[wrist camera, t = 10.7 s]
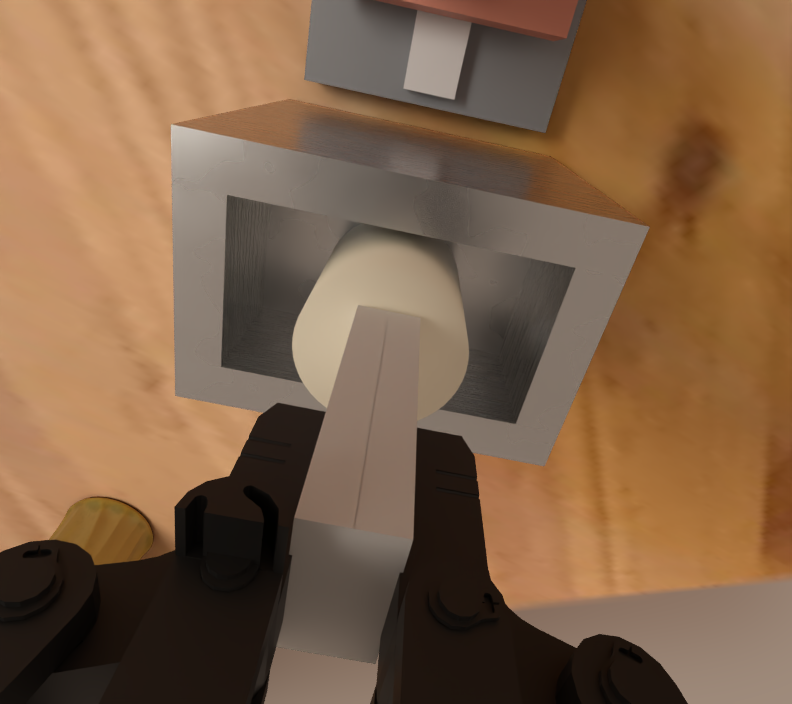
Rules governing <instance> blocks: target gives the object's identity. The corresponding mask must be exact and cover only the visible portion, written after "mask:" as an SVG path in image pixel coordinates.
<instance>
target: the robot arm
mask: <svg viewBox="0 0 792 704" xmlns="http://www.w3.org/2000/svg"><path fill="white" fill-rule="evenodd" d="M419 347H420V317H415V316H410V315H405V314H400V313H395V312H390V311H386V310H381V309H376V308H371V307H366V306H361V305H358V307H357V310H356V313H355V317H354V320H353V323H352V327H351V330H350V333H349V337H348V340H347V343H346V347H345V350H344V353H343V357H342V360H341V363H340V367H339V370H338V373H337V377H336V380H335V383H334V387H333V390H332V393H331V397H330V400H329V403H328V407H327V410H326V412H324V411H319V410H314V409H309V408H304V407H298V406H293V405H288V404H283V403H276V404H275V405H274V406H272V407H271V408H269V409H268V410H267V411H265V412H264V413H263V414H261V415H260V416H259V417H258V419H257V421H256V423H255V425H254V427H253V429H252V431H251V433H250V435H249V439H248V440H247V441H246V443H245V445H244V447H243V449H242V451H241V455H240V457H239V458H238V460H237V462H236V464H235V466H234V468H233V470H232V472H231V474H230V476H228V477H224V478H219V479H215V480H211V481H207V482H205V483H203V484H201V485H199V486H197V487H196V488H194V489H192V490H190V491H188V492H187V493H186V495H185V496H184V497H183V498H182V499H181V500H180V501H179V502H178V504H177V505H176V506H175V550H174V551H172V552H169V553H166V554H164V555H161V556H159V557H154V558H149V559H144V560H138V561H129V562H119V563H110V564H101V565H94V562H93V559H92V556H91V555H90V554H89V553H88V552H86V551H85V550H84V549H82V548H81V547H80V546H78V545H77V544H74V543H69V542H65V541H60V540H44V541H33V542H28V543H25V544H22V545H19V546H16V547H13V548H10V549H7V550H5V551H2V552H1V553H0V704H264V701H265V697H266V693H267V689H268V681H269V674H270V668H271V664H272V660H273V657H274V653H275V649H276V647H279V648H285V649H291V650H297V651H303V652H308V653H315V654H320V655H327V656H333V657H338V658H344V659H349V660H356V661H361V662H367V663H373V664H375V663H376V660H377V657H378V654H379V660H378V673H377V684H376V687H375V690H374V694H373V697H372V700H371V703H370V704H688V703H687V702H686V700H685V698H684V697H683V695H682V693H681V692H680V690H679V688H678V687H677V685H676V684H675V682H674V681H673V680H672V679H671V677H670V676H669V675H668V673H667V672H666V671H665V670H664V669H663V667H662V666H661V664H660V663H658V662H657V661H656V660H655V659H654V658H653V657H651V656H650V655H649V654H648V653H646V652H645V651H644V650H643V649H642V648H641V647H639V646H637V645H635V644H632V643H631V642H628V641H626V640H624V639H622V638H620V637H616V636H609V635H602V634H598V635H595V636H592V637H589V638H586V639H583V641H582V642H581V643H580V645H579V646H578V648H575V647H573V646H571V645H569V644H567V643H565V642H563V641H561V640H559V639H557V638H555V637H553V636H551V635H549V634H547V633H545V632H543V631H541V630H539V629H537V628H535V627H534V626H532V625H530V624H529V623H527V622H525V621H524V620H522V619H521V618H520V617H518V616H517V615H516V614H515V613H514V612H513V611H512V610H511V609H509V608H508V607H507V605H506V604H505V602H504V599H503V596H502V594H501V593H500V592H499V590H498V589H497V588H496V586H495V585H494V584H493V582H492V581H491V579H490V575H489V571H488V565H487V556H486V548H485V539H484V531H483V523H482V514H481V506H480V499H479V489H478V481H476V480H477V472H476V464H475V456H474V454H473V453H472V451H471V450H470V448H469V447H468V445H467V444H466V442H465V440H464V439H463V437H462V436H459V435H453V434H448V433H443V432H438V431H433V430H427V429H422V428H417V409H418V378H419Z"/></svg>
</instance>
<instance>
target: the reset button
mask: <svg viewBox="0 0 792 704" xmlns="http://www.w3.org/2000/svg"><path fill="white" fill-rule="evenodd" d="M358 305H361V306H366V307H371V308H376V309H381V310H386V311H390V312H395V313H400V314H405V315H410V316H415V317H420V347H419V378H418V409H417V421H418V420H420V419H423V418H425V417H427V416H429V415H431V414H432V413H434V412H436V411H437V410H438V409H440V408H441V407H442V406H444V405H445V404H446V403H447V402H448V401H449V400H450V399H451V398H452V396H453V395H454V394H455V393H456V391H457V390H458V388H459V386H460V385H461V383H462V381H463V378H464V376H465V373H466V370H467V365H468V359H469V345H468V337H467V330H466V323H465V316H464V309H463V302H462V296H461V289H460V282H459V275H458V269H457V265H456V261H455V259H454V256H453V254H452V252H451V250H450V248H449V247H448V245H447V244H446V243H445V241H444V240H441V239H436V238H431V237H426V236H422V235H417V234H412V233H407V232H402V231H398V230H393V229H388V228H383V227H379V226H374V225H369V224H364V223H360V224H359V225H357V226H355V227H353V228H352V229H351V230H350V231H348V232H347V233H346V234H345V235H344V236H343V237H342V238H341V239H340V241H339V242H338V243H337V245H336V246H335V248H334V250H333V252H332V254H331V256H330V258H329V259H328V261H327V263H326V265H325V267H324V269H323V271H322V273H321V275H320V277H319V278H318V280H317V282H316V284H315V286H314V288H313V290H312V292H311V294H310V296H309V297H308V299H307V301H306V303H305V305H304V307H303V309H302V311H301V313H300V315H299V316H298V319H297V321H296V324H295V327H294V332H293V337H292V351H293V359H294V363H295V366H296V369H297V372H298V374H299V376H300V378H301V380H302V382H303V384H304V385H305V387H306V388H307V389H308V391H309V392H310V393H311V394H312V395H313V396H314V398H315V399H316V400H317V401H318V402H320V403H321V404H322V405H323V406H325V407H326V408H327V407H328V403H329V400H330V397H331V393H332V390H333V387H334V383H335V380H336V377H337V373H338V370H339V367H340V363H341V360H342V357H343V353H344V350H345V347H346V343H347V340H348V337H349V333H350V330H351V327H352V323H353V320H354V317H355V313H356V310H357V307H358Z"/></svg>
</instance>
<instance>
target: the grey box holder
mask: <svg viewBox="0 0 792 704" xmlns="http://www.w3.org/2000/svg"><path fill="white" fill-rule="evenodd" d="M171 158H172V220H173V281H174V343H175V396H179V397H184V398H189V399H195V400H200V401H205V402H210V403H216V404H221V405H226V406H231V407H237V408H242V409H247V410H252V411H257V412H263V413H264V412H265V411H267V410H268V409H269V408H271V407H272V406H274V405H275V404H276V403H283V404H288V405H293V406H298V407H304V408H309V409H314V410H319V411H324V412H326V410H327V408H326V407H325V406H323V405H322V404H321V403H320V402H318V401H317V400H316V399H315V398H314V396H313V395H312V394H311V393H310V392H309V391H308V389H307V388H306V387H305V385H304V384H303V382H302V380H301V378H300V376H299V374H298V372H297V369H296V366H295V363H294V359H293V351H292V337H293V332H294V327H295V324H296V321H297V319H298V316H299V315H300V313H301V311H302V309H303V307H304V305H305V303H306V301H307V299H308V297H309V296H310V294H311V292H312V290H313V288H314V286H315V284H316V282H317V280H318V278H319V277H320V275H321V273H322V271H323V269H324V267H325V265H326V263H327V261H328V259H329V258H330V256H331V254H332V252H333V250H334V248H335V246H336V245H337V243H338V242H339V241H340V239H341V238H342V237H343V236H344V235H345V234H346V233H347V232H348V231H350V230H351V229H352V228H353V227H355V226H357V225H359V224H360V223H364V224H369V225H374V226H379V227H383V228H388V229H393V230H398V231H402V232H407V233H412V234H417V235H422V236H426V237H431V238H436V239H441V240H444V241H445V243H446V244H447V245H448V247H449V248H450V250H451V252H452V254H453V256H454V259H455V261H456V265H457V269H458V275H459V282H460V289H461V296H462V302H463V309H464V316H465V323H466V330H467V337H468V345H469V359H468V365H467V370H466V373H465V376H464V378H463V381H462V383H461V385H460V386H459V388H458V390H457V391H456V393H455V394H454V395H453V396H452V398H451V399H450V400H449V401H448V402H447V403H446V404H445V405H444V406H442V407H441V408H440V409H438V410H437V411H436V412H434V413H432V414H431V415H429V416H427V417H425V418H423V419H420V420H418V421H417V428H422V429H427V430H433V431H438V432H443V433H448V434H453V435H459V436H462V437H463V439H464V440H465V442H466V444H467V445H468V447H469V448H470V450H471V451H472V453H477V454H483V455H488V456H493V457H498V458H504V459H509V460H514V461H519V462H524V463H530V464H535V465H540V466H545V464H546V462H547V459H548V457H549V455H550V452H551V450H552V448H553V446H554V443H555V441H556V439H557V437H558V434H559V432H560V430H561V427H562V425H563V423H564V421H565V418H566V416H567V414H568V412H569V409H570V407H571V405H572V402H573V400H574V398H575V396H576V393H577V391H578V389H579V387H580V384H581V382H582V380H583V377H584V375H585V373H586V371H587V368H588V366H589V364H590V362H591V359H592V357H593V355H594V352H595V350H596V348H597V346H598V343H599V341H600V339H601V337H602V334H603V332H604V330H605V327H606V325H607V323H608V321H609V318H610V316H611V314H612V312H613V309H614V307H615V305H616V302H617V300H618V298H619V296H620V293H621V291H622V289H623V287H624V284H625V282H626V280H627V277H628V275H629V273H630V271H631V268H632V266H633V264H634V262H635V259H636V257H637V255H638V252H639V250H640V248H641V246H642V243H643V241H644V239H645V237H646V234H647V232H648V230H649V226H648V225H646V224H645V223H644V222H642V221H641V220H639V219H638V218H637V217H635V216H634V215H632V214H631V213H630V212H628V211H627V210H625V209H624V208H623V207H621V206H620V205H618V204H617V203H616V202H614V201H613V200H611V199H610V198H608V197H607V196H606V195H604V194H603V193H601V192H600V191H599V190H597V189H596V188H594V187H593V186H592V185H590V184H589V183H587V182H586V181H585V180H583V179H582V178H580V177H579V176H578V175H576V174H575V173H573V172H572V171H571V170H569V169H568V168H566V167H565V166H564V165H562V164H561V163H559V162H558V161H556V160H555V159H554V158H552V157H551V156H547V155H542V154H538V153H533V152H529V151H524V150H520V149H515V148H510V147H506V146H501V145H497V144H492V143H488V142H483V141H478V140H474V139H469V138H465V137H460V136H456V135H451V134H446V133H442V132H437V131H433V130H428V129H424V128H419V127H414V126H410V125H405V124H401V123H396V122H392V121H387V120H383V119H378V118H373V117H369V116H364V115H360V114H355V113H351V112H346V111H341V110H337V109H332V108H328V107H323V106H319V105H314V104H309V103H305V102H300V101H296V100H291V99H287V100H282V101H278V102H273V103H268V104H263V105H259V106H254V107H249V108H245V109H240V110H235V111H231V112H226V113H221V114H216V115H212V116H207V117H202V118H198V119H193V120H188V121H184V122H179V123H174V124H171Z"/></svg>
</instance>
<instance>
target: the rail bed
mask: <svg viewBox="0 0 792 704" xmlns="http://www.w3.org/2000/svg"><path fill="white" fill-rule="evenodd" d="M586 1H587V0H578V3H577V6H576V9H575V12H574V16H573V19H572V22H571V25H570V29H569V32H568V35H567V38H566V39H561V40H557V41H550V40H546V39H541V38H537V37H533V36H528V35H524V34H520V33H515V32H511V31H507V30H502V29H498V28H494V27H489V26H485V25H480V24H476V23H472V22H467V21H463V20H459V19H454V18H450V17H446V16H441V15H437V14H432V13H428V12H424V11H419V10H415V9H411V8H406V7H402V6H398V5H393V4H389V3H384V2H380V1H376V0H312V5H311V15H310V26H309V36H308V46H307V57H306V67H305V78H304V80H308V81H312V82H317V83H321V84H326V85H330V86H335V87H339V88H344V89H348V90H353V91H357V92H362V93H366V94H371V95H376V96H380V97H385V98H389V99H394V100H398V101H403V102H407V103H412V104H416V105H421V106H425V107H430V108H434V109H439V110H443V111H448V112H453V113H457V114H462V115H466V116H471V117H475V118H480V119H484V120H489V121H493V122H498V123H502V124H507V125H511V126H516V127H520V128H525V129H529V130H534V131H539V132H543V133H545V132H546V129H547V126H548V123H549V120H550V116H551V113H552V110H553V107H554V103H555V100H556V97H557V94H558V91H559V87H560V84H561V81H562V78H563V75H564V71H565V68H566V65H567V62H568V59H569V55H570V52H571V49H572V46H573V43H574V39H575V36H576V33H577V30H578V27H579V23H580V20H581V17H582V14H583V11H584V7H585V4H586Z"/></svg>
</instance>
